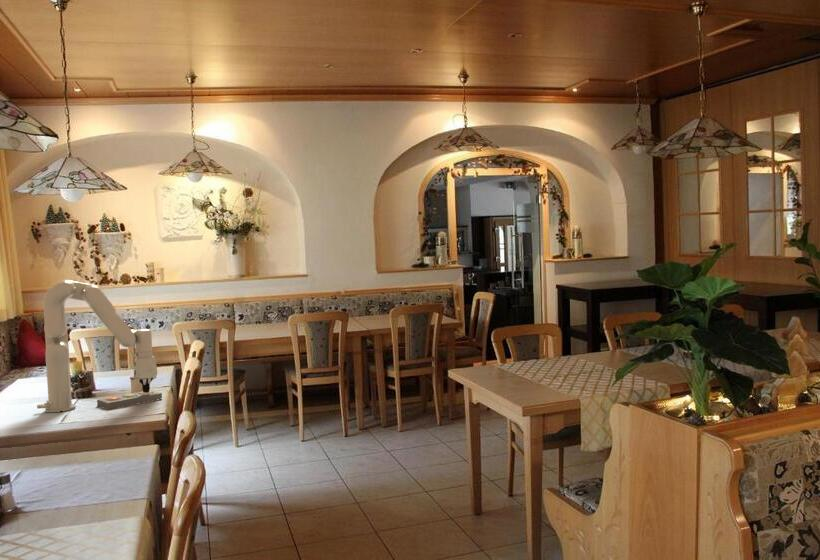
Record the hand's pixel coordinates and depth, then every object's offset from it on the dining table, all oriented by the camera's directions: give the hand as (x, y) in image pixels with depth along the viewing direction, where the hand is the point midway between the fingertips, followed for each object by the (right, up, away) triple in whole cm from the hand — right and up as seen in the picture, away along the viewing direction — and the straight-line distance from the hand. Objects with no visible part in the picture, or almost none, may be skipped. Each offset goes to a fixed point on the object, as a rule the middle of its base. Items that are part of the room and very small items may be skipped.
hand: (146, 392), depth 338 cm
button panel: (-5, -4, -6) cm, 9 cm away
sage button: (-6, -4, -6) cm, 9 cm away
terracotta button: (-11, -4, -12) cm, 16 cm away
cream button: (0, -3, 0) cm, 3 cm away
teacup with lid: (-9, -3, +15) cm, 18 cm away
